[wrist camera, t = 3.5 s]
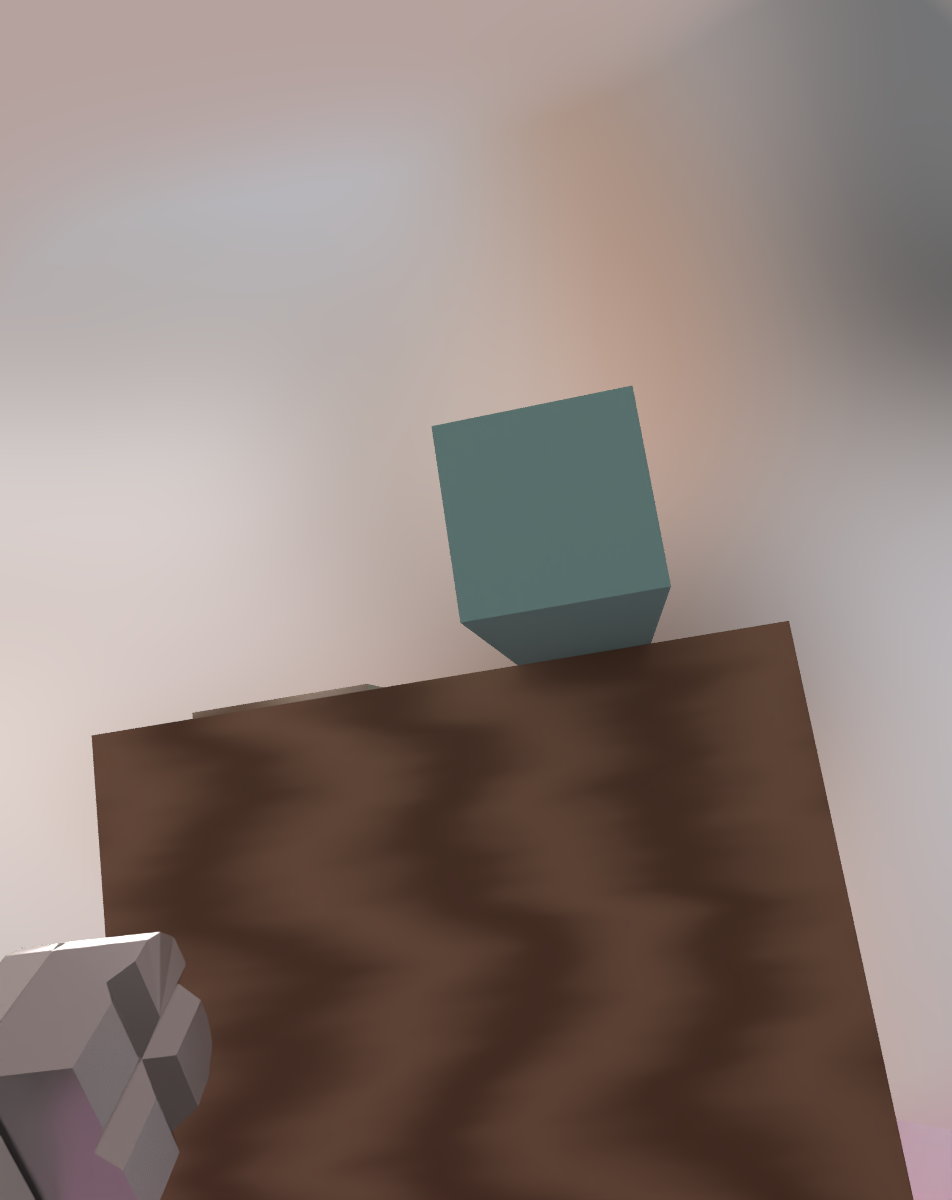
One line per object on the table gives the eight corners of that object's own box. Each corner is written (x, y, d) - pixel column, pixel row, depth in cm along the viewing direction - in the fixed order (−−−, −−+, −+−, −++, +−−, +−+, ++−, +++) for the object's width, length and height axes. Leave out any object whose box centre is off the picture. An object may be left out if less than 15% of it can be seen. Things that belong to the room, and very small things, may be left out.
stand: (158, 1698, 24) (90, 726, 28) (353, 1290, 41) (292, 731, 46) (1019, 1690, 21) (786, 610, 26) (835, 1255, 38) (717, 663, 43)
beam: (460, 622, 17) (431, 426, 18) (554, 692, 42) (541, 611, 43) (670, 586, 16) (632, 385, 17) (638, 679, 42) (623, 597, 42)
